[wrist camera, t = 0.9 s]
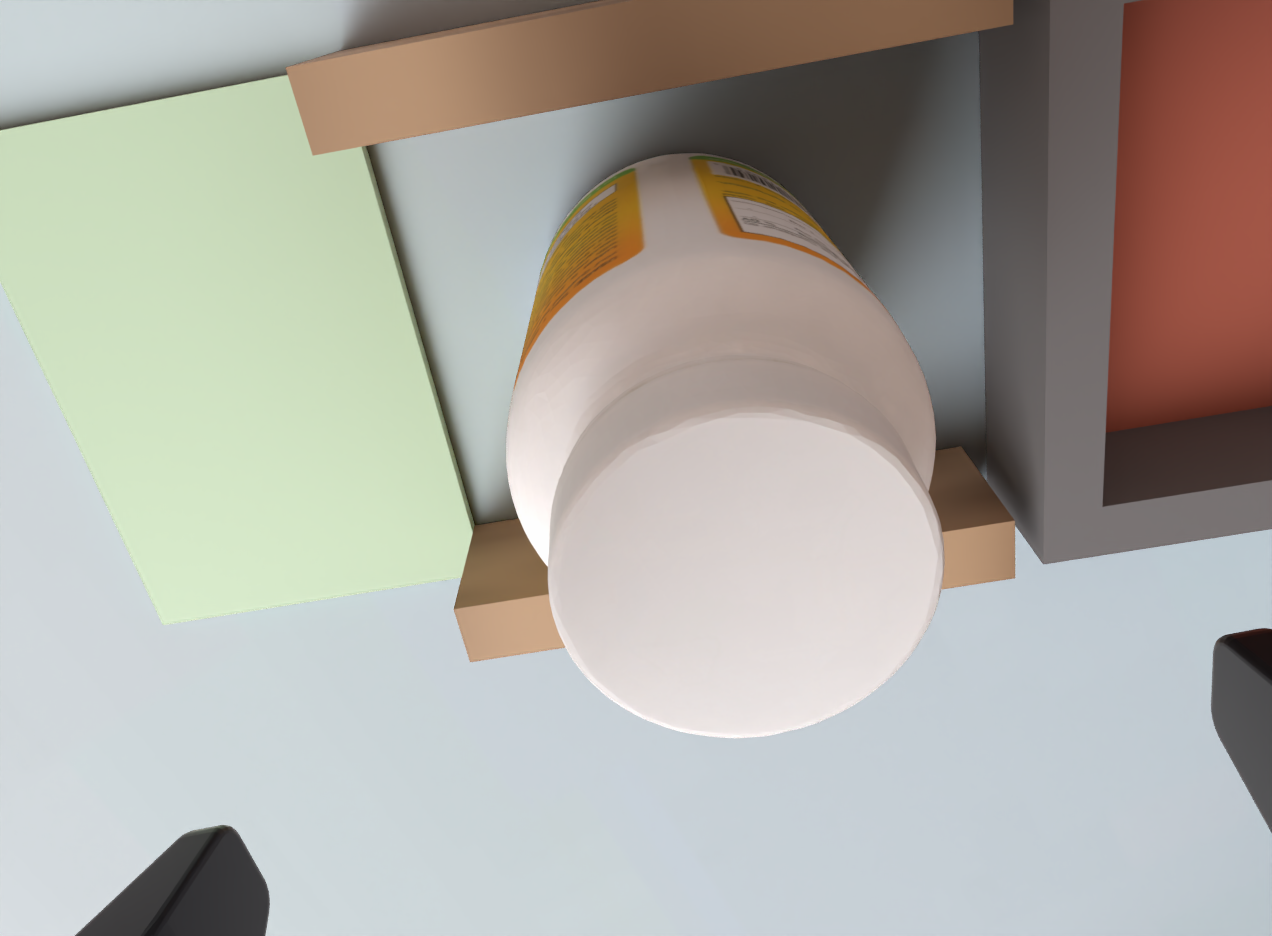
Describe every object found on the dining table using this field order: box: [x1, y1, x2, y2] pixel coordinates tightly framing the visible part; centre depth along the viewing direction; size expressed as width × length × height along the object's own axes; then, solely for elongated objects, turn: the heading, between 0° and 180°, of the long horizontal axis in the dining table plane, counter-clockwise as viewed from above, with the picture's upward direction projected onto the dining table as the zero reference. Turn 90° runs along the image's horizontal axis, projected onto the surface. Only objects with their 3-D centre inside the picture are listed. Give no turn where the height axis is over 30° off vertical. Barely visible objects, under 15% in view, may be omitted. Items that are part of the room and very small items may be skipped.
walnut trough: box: [286, 0, 1015, 662], centre depth 17 cm, size 10×10×3 cm
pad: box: [0, 75, 475, 625], centre depth 19 cm, size 7×10×1 cm
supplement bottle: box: [506, 153, 945, 738], centre depth 14 cm, size 5×5×10 cm
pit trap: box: [979, 0, 1272, 564], centre depth 17 cm, size 8×10×3 cm
